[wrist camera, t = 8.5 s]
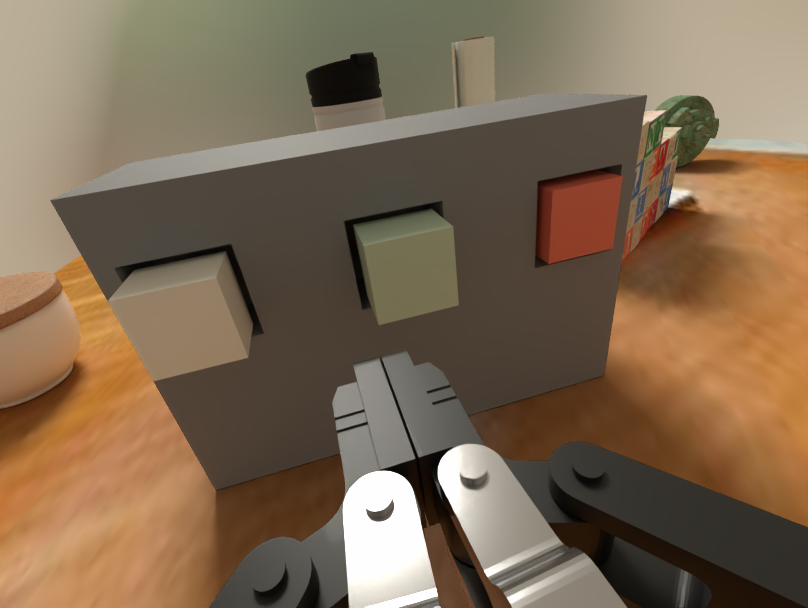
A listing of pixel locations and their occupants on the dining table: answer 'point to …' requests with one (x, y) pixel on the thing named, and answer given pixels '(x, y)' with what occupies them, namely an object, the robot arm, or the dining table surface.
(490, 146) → the console
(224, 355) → the cream button
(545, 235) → the red button
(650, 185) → the stack of blocks
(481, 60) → the paper towel roll
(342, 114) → the travel mug
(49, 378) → the lidded jar
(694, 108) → the decorative artifact
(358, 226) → the green button
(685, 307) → the dining table surface
